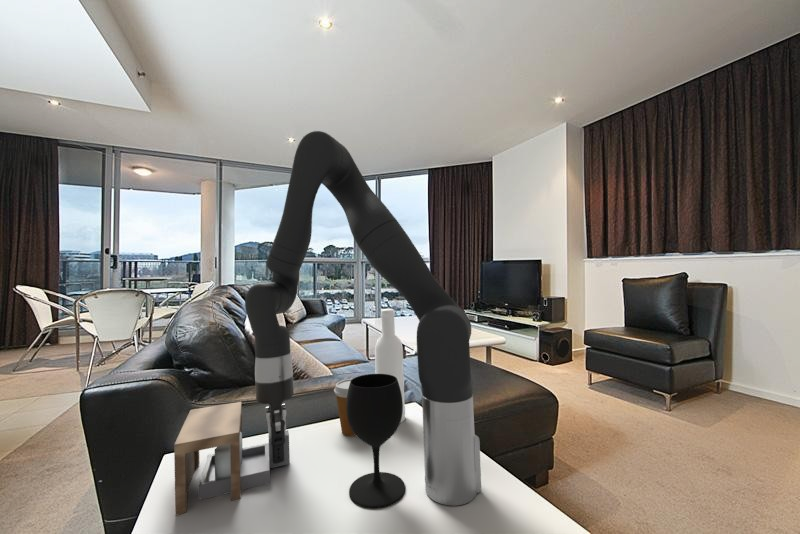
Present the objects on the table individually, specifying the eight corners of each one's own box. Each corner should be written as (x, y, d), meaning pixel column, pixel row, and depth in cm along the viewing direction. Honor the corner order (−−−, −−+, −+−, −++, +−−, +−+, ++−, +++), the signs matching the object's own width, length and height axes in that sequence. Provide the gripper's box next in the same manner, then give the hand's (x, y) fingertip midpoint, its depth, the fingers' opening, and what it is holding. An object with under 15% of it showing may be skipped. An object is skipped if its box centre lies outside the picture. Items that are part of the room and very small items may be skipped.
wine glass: (399, 512, 57) (395, 390, 58) (340, 505, 59) (336, 388, 60) (410, 476, 67) (406, 372, 68) (359, 471, 70) (356, 371, 70)
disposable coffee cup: (349, 443, 82) (347, 392, 82) (328, 431, 89) (326, 383, 89) (380, 430, 88) (378, 382, 88) (358, 419, 95) (357, 375, 96)
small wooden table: (242, 454, 78) (241, 401, 79) (240, 498, 62) (239, 432, 63) (191, 465, 74) (190, 409, 75) (175, 515, 58) (174, 444, 59)
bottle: (383, 412, 100) (380, 308, 101) (409, 415, 97) (405, 308, 98) (371, 423, 92) (368, 311, 93) (399, 427, 90) (395, 311, 90)
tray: (287, 450, 79) (286, 419, 80) (291, 478, 68) (290, 442, 68) (208, 466, 74) (208, 433, 74) (198, 500, 62) (197, 460, 63)
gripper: (296, 381, 69) (300, 470, 68) (289, 366, 81) (293, 440, 81) (255, 388, 66) (259, 480, 65) (255, 371, 78) (258, 448, 78)
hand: (278, 458), depth 73 cm, fingers closed on tray, 2 cm apart
